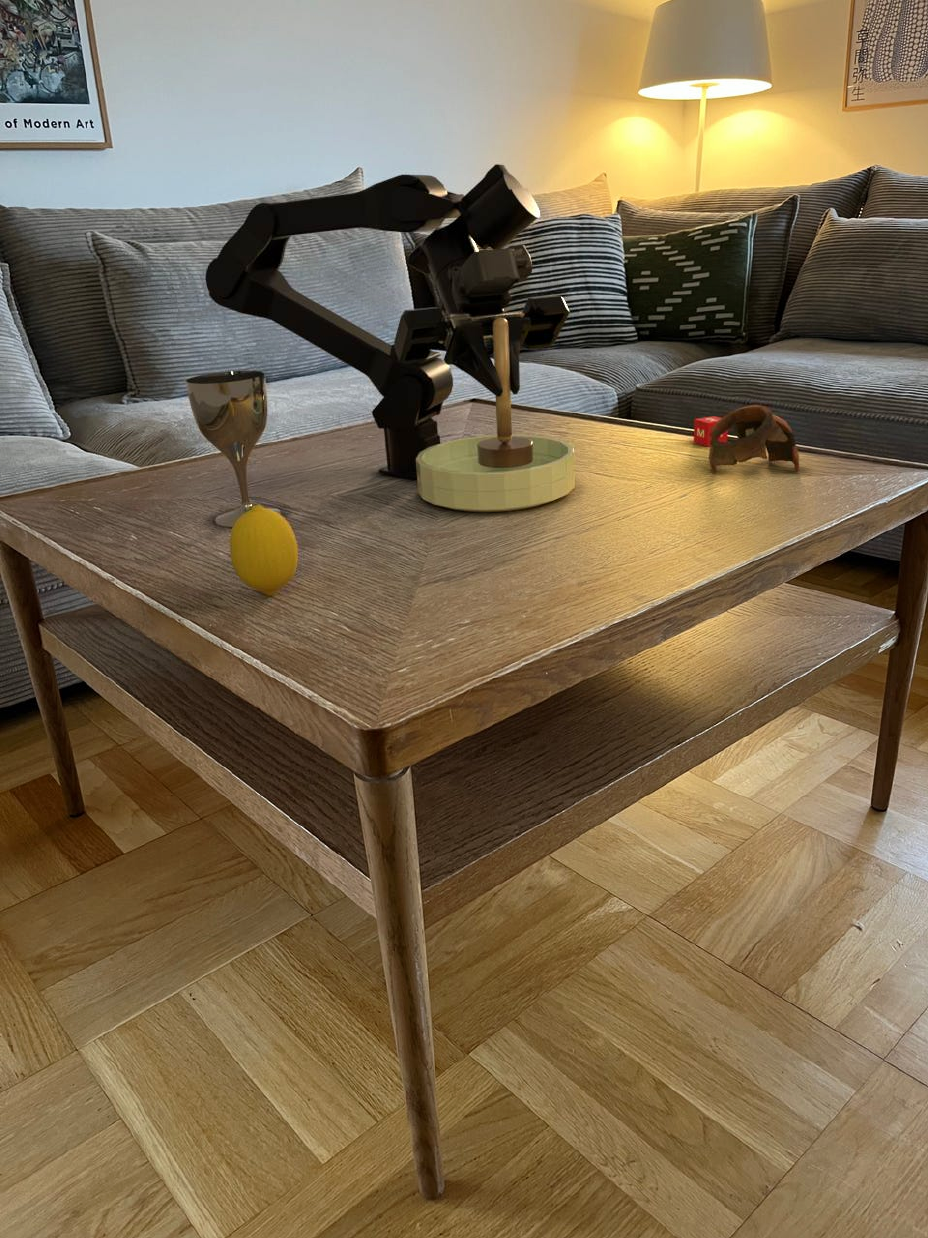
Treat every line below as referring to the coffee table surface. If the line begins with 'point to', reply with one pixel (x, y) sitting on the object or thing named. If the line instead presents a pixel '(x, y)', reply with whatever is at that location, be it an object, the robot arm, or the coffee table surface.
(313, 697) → the coffee table surface
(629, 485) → the coffee table surface
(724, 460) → the brown arched hollow part
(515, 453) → the stirring stick
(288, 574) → the lemon
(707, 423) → the dice
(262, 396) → the wine glass
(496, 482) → the bowl
